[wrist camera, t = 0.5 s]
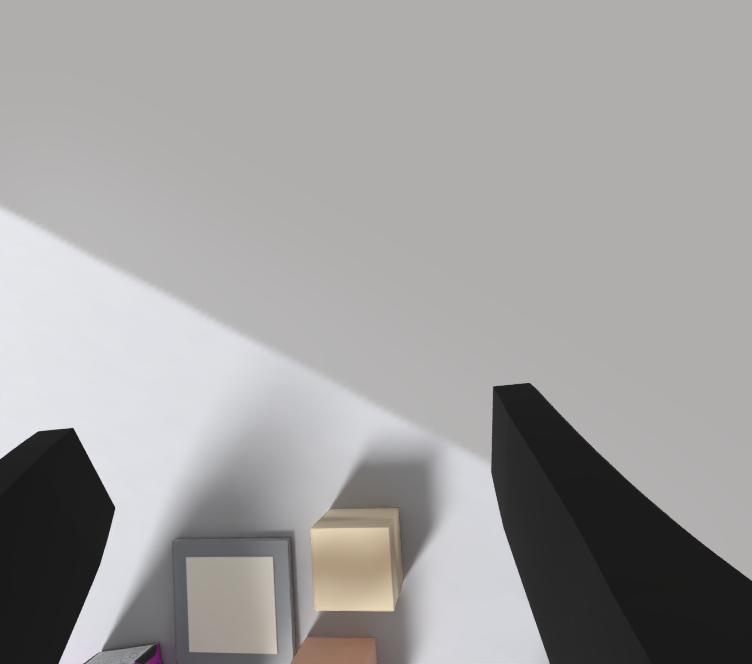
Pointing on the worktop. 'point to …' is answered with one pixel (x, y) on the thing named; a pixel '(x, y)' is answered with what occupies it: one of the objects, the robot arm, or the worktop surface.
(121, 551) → the worktop surface
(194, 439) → the worktop surface
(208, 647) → the build plate
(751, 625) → the robot arm
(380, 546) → the maple cube
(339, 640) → the terracotta cube
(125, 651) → the candy bar box
